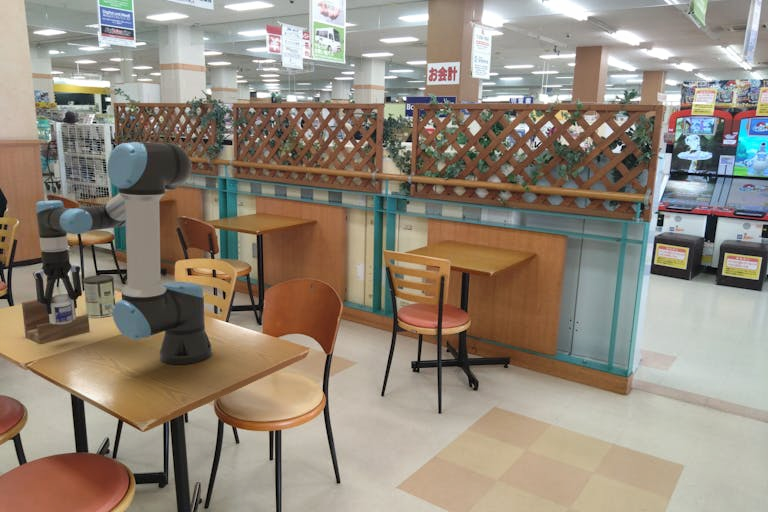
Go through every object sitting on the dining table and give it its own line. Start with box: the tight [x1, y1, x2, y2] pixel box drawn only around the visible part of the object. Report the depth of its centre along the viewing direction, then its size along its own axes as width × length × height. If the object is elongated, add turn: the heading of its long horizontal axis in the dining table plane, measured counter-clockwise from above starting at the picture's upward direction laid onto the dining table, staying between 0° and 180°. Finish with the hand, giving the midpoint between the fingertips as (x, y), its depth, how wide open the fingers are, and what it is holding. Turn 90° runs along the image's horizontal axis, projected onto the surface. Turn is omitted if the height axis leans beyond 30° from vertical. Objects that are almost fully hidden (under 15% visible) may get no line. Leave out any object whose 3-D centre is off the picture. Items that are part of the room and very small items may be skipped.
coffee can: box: [82, 274, 116, 319], centre depth 215 cm, size 10×10×14 cm
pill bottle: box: [52, 293, 72, 324], centre depth 182 cm, size 5×5×9 cm
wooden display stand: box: [21, 293, 91, 345], centre depth 192 cm, size 11×16×12 cm, turn 144°
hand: (62, 320), depth 183 cm, fingers closed on pill bottle, 5 cm apart
